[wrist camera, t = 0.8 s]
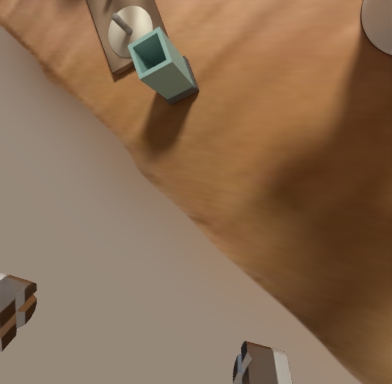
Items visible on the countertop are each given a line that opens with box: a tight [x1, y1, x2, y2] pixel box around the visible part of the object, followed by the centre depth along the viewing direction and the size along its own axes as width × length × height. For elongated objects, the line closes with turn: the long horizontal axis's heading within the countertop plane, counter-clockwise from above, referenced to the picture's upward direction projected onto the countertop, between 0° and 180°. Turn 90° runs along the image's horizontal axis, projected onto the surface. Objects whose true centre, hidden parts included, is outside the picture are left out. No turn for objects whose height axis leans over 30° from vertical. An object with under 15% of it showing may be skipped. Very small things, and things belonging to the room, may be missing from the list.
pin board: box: [87, 0, 169, 75], centre depth 48 cm, size 12×19×6 cm, turn 21°
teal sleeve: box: [128, 27, 199, 105], centre depth 43 cm, size 6×6×12 cm
